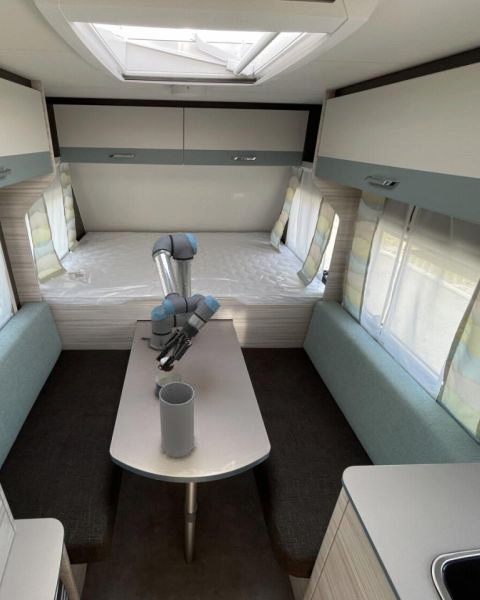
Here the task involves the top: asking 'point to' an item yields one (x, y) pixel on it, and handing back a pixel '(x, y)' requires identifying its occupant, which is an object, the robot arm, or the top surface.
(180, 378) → the beige and blue cylinder
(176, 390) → the cylinder vase
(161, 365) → the cocoa
